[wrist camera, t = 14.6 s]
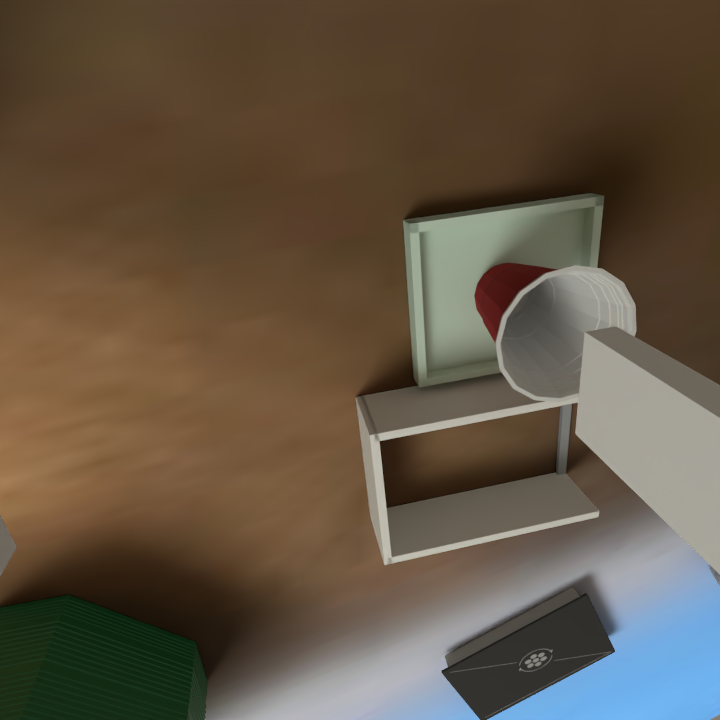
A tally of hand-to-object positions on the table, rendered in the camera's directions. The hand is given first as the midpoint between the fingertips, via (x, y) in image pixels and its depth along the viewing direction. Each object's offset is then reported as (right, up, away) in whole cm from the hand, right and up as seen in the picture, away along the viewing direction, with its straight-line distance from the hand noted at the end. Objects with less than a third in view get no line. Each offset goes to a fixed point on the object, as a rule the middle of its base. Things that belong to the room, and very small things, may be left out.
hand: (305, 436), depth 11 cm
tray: (+14, +8, +38) cm, 41 cm away
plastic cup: (+14, +8, +38) cm, 41 cm away
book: (+24, -38, +62) cm, 77 cm away
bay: (+13, -7, +45) cm, 47 cm away
